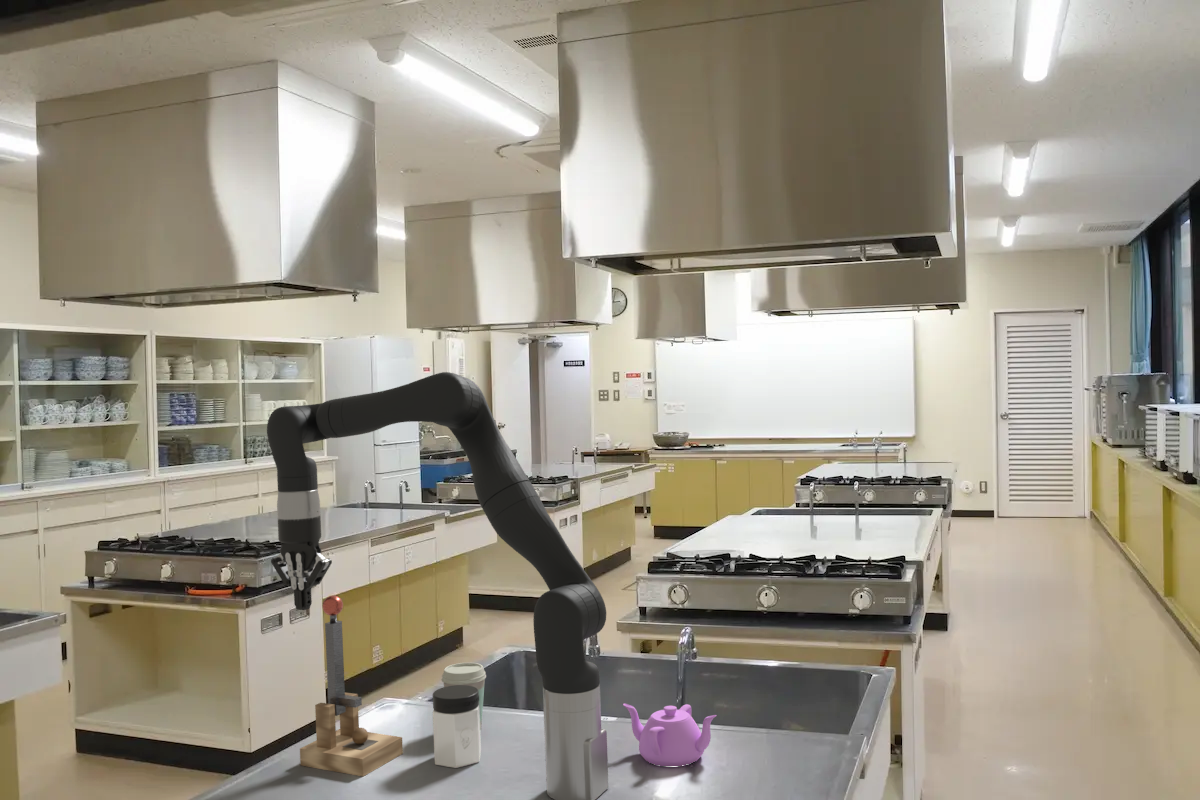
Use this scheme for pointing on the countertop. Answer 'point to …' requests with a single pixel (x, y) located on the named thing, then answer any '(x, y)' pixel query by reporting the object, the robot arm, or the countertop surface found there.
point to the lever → (336, 658)
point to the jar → (456, 726)
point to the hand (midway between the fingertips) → (303, 609)
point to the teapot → (671, 736)
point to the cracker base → (347, 744)
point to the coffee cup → (466, 678)
